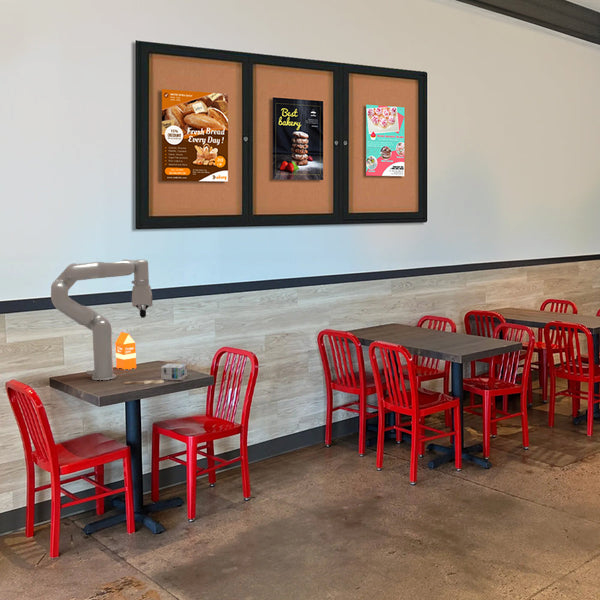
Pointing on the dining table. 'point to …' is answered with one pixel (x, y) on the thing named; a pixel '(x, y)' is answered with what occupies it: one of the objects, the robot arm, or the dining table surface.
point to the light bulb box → (173, 371)
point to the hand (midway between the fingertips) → (143, 317)
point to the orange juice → (125, 352)
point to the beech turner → (146, 382)
